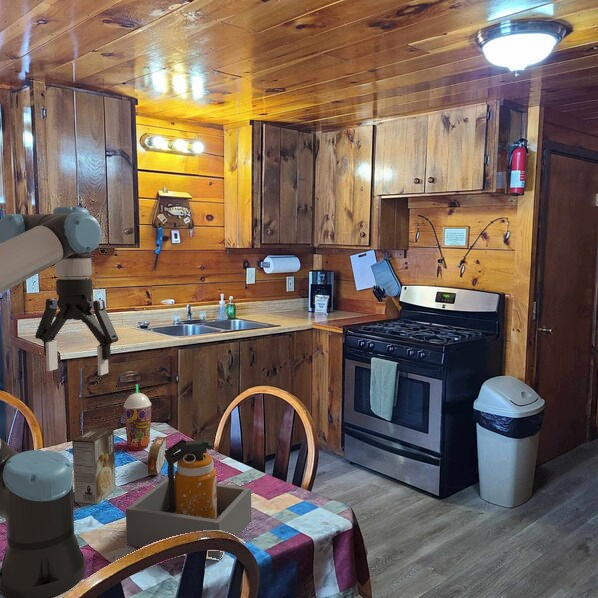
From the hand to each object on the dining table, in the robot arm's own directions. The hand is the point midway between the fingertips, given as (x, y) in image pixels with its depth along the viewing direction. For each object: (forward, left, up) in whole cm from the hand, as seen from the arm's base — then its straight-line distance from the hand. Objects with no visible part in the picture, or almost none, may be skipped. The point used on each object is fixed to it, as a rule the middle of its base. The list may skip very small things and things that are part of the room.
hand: (77, 372), depth 131 cm
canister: (+2, -27, -34) cm, 43 cm away
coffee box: (+12, +5, -35) cm, 37 cm away
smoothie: (+46, +14, -35) cm, 59 cm away
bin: (+2, -27, -35) cm, 44 cm away
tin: (+32, -1, -35) cm, 47 cm away
